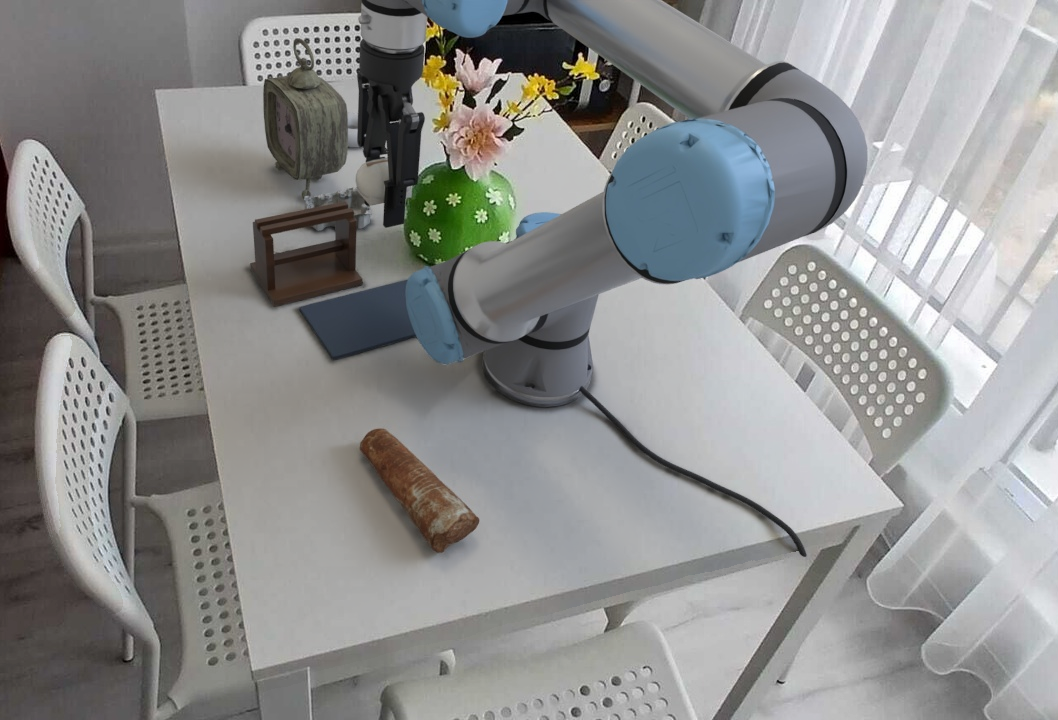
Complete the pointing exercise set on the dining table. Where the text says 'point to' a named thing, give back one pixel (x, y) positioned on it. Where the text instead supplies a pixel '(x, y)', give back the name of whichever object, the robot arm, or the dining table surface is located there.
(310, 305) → the mat
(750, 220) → the robot arm
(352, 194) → the egg carton
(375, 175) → the white dome-topped canister
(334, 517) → the dining table surface
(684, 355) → the dining table surface
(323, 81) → the tabletop clock
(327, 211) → the rack
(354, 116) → the donut
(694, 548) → the dining table surface
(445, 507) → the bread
